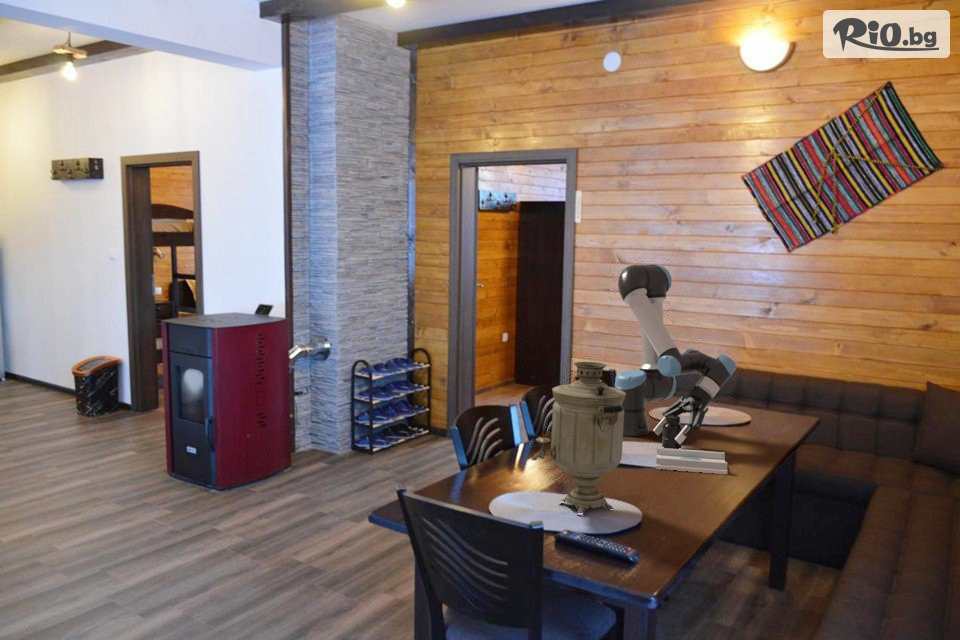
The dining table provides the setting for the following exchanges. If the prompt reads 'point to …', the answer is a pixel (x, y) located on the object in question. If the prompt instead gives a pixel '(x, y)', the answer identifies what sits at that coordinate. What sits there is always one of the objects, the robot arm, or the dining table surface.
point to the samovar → (586, 433)
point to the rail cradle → (691, 461)
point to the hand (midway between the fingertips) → (666, 437)
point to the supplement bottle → (671, 432)
